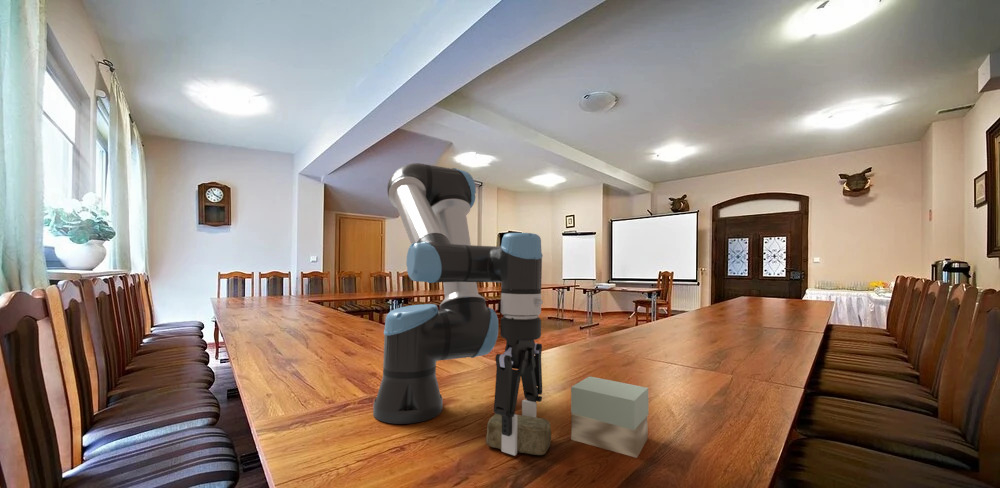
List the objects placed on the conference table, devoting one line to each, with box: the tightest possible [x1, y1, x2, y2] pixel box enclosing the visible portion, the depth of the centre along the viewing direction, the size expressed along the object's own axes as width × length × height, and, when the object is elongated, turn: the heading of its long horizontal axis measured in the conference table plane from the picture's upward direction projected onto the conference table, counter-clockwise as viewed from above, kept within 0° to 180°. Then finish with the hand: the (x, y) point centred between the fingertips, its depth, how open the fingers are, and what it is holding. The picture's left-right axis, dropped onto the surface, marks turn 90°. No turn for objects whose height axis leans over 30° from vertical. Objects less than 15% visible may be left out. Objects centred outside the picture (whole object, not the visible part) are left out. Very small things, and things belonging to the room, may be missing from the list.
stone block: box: [485, 413, 552, 456], centre depth 67 cm, size 6×12×5 cm, turn 73°
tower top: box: [570, 376, 649, 430], centre depth 71 cm, size 12×9×5 cm
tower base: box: [570, 413, 649, 459], centre depth 71 cm, size 12×9×5 cm
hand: (519, 444), depth 67 cm, fingers closed on stone block, 7 cm apart
